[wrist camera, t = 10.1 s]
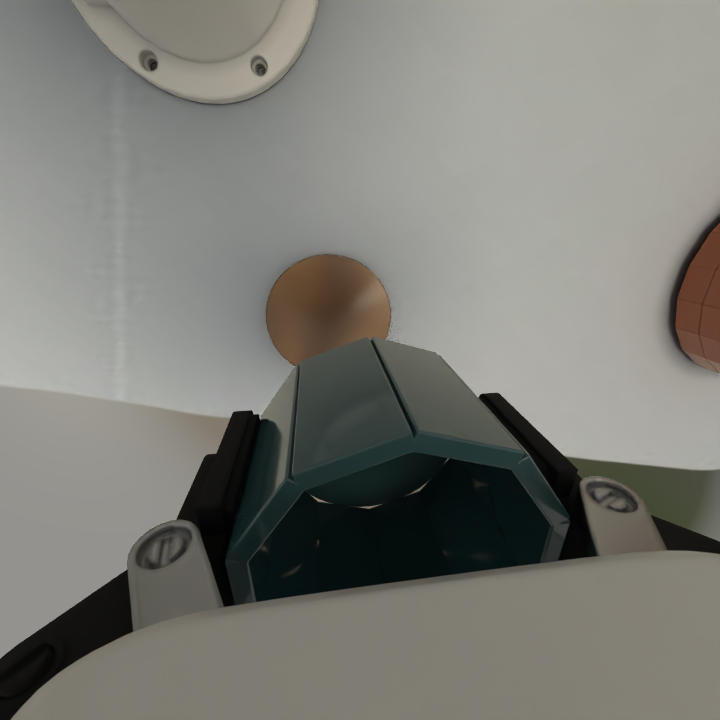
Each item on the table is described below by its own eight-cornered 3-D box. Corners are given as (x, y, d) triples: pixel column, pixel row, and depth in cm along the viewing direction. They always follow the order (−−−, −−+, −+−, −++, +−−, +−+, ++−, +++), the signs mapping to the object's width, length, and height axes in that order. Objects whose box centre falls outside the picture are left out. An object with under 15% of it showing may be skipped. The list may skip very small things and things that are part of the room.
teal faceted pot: (277, 516, 13) (256, 699, 8) (252, 336, 10) (195, 450, 5) (452, 497, 14) (529, 653, 9) (474, 325, 11) (606, 416, 6)
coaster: (273, 376, 26) (272, 378, 26) (259, 255, 23) (258, 256, 22) (387, 370, 27) (388, 372, 27) (391, 253, 24) (392, 253, 24)
